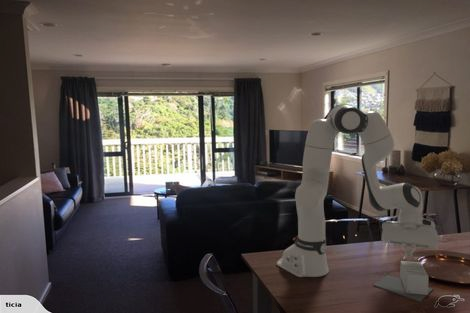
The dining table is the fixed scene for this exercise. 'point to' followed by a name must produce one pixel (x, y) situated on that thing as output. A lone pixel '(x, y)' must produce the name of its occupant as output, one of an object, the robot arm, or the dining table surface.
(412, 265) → the supplement box
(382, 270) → the dining table surface
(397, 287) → the mat
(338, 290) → the dining table surface
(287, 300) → the dining table surface
